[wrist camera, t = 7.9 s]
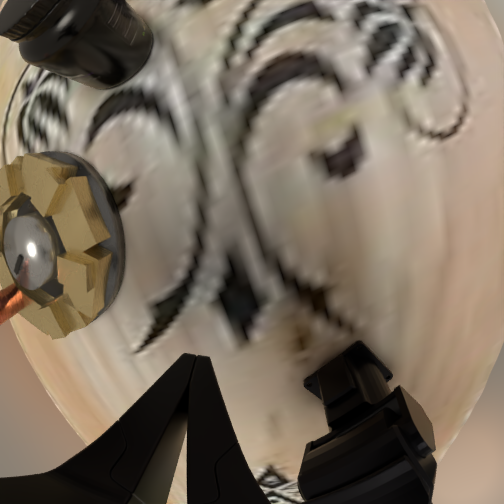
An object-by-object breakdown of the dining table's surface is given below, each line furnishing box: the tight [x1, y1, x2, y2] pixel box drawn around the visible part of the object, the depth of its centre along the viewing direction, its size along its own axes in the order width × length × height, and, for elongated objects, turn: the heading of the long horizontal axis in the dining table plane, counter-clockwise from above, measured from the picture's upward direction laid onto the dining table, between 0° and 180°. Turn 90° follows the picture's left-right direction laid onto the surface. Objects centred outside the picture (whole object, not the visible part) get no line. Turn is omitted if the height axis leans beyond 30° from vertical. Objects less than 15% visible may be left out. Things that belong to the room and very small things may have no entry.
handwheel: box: [0, 153, 113, 339], centre depth 14 cm, size 15×15×10 cm
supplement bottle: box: [0, 0, 152, 89], centre depth 10 cm, size 7×7×12 cm
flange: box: [4, 152, 125, 324], centre depth 18 cm, size 16×16×5 cm
